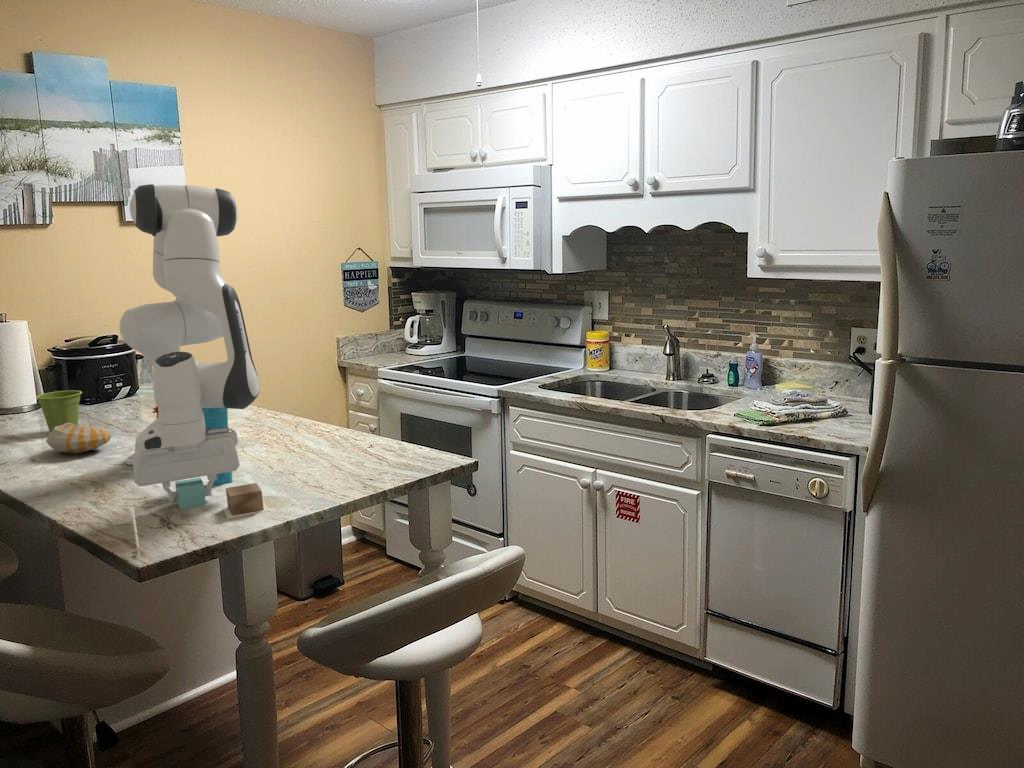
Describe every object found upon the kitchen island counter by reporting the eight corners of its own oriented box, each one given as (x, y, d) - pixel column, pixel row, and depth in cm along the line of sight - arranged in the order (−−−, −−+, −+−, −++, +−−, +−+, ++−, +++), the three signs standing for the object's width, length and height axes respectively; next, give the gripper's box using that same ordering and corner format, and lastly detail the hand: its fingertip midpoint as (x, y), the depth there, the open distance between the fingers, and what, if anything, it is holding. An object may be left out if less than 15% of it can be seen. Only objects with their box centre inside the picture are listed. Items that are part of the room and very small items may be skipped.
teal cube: (180, 511, 169) (177, 488, 168) (178, 504, 173) (175, 481, 172) (206, 507, 171) (203, 483, 170) (203, 500, 175) (200, 477, 174)
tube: (241, 479, 189) (231, 396, 185) (233, 486, 184) (223, 401, 180) (208, 480, 189) (199, 397, 185) (200, 487, 184) (189, 402, 181)
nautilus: (42, 449, 227) (103, 441, 235) (50, 461, 209) (115, 452, 217) (39, 420, 226) (101, 414, 234) (47, 429, 208) (113, 422, 216)
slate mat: (199, 522, 162) (198, 519, 162) (224, 502, 174) (223, 499, 173) (269, 521, 161) (269, 518, 161) (289, 500, 173) (289, 497, 172)
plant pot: (81, 434, 239) (76, 396, 237) (36, 438, 236) (30, 399, 234) (91, 425, 250) (86, 388, 248) (48, 429, 248) (42, 392, 246)
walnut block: (232, 515, 163) (230, 496, 162) (227, 507, 168) (225, 488, 168) (263, 510, 166) (261, 490, 165) (258, 501, 171) (256, 482, 170)
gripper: (233, 422, 176) (240, 485, 179) (128, 437, 167) (137, 503, 170) (238, 428, 171) (245, 493, 173) (129, 444, 162) (138, 512, 165)
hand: (191, 498), depth 172 cm, fingers closed on teal cube, 5 cm apart
